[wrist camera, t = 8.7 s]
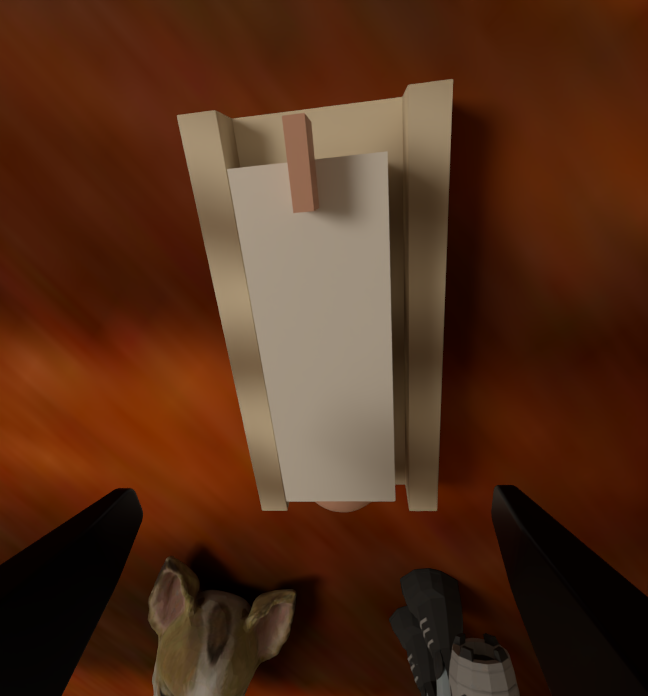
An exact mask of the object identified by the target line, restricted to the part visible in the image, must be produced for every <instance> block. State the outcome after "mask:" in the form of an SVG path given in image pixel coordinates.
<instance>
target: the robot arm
mask: <svg viewBox="0 0 648 696" xmlns="http://www.w3.org/2000/svg"><path fill="white" fill-rule="evenodd" d="M491 513H492V521H493V525H494V528H495V532H496V536H497V539H498V543H499V547H500V550H501V554H502V558H503V561H504V565H505V569H506V572H507V576H508V580H509V583H510V587H511V590H512V593H513V596H514V598H515V601H516V604H517V607H518V609H519V612H520V614H521V617H522V619H523V622H524V625H525V627H526V630H527V632H528V635H529V638H530V640H531V643H532V645H533V648H534V651H535V653H536V656H537V658H538V661H539V663H540V666H541V669H542V671H543V674H544V676H545V679H546V682H547V684H548V687H549V689H550V692H551V695H552V696H648V597H647V596H646V595H645V594H643V593H642V592H641V591H640V590H639V589H637V588H636V587H635V586H634V585H633V584H632V583H630V582H629V581H628V580H627V579H626V578H624V577H623V576H622V575H621V574H620V573H618V572H617V571H616V570H615V569H614V568H612V567H611V566H610V565H609V564H608V563H606V562H605V561H604V560H603V559H602V558H601V557H599V556H598V555H597V554H596V553H595V552H593V551H592V550H591V549H590V548H589V547H587V546H586V545H585V544H584V543H583V542H581V541H580V540H579V539H578V538H577V537H576V536H574V535H573V534H572V533H571V532H570V531H568V530H567V529H566V528H565V527H564V526H562V525H561V524H560V523H559V522H558V521H556V520H555V519H554V518H553V517H552V516H550V515H549V514H548V513H547V512H546V511H545V510H543V509H542V508H541V507H540V506H539V505H537V504H536V503H535V502H534V501H533V500H531V499H530V498H529V497H528V496H527V495H525V494H524V493H523V492H522V491H521V490H519V489H518V488H517V487H516V486H514V485H497V486H495V488H494V493H493V502H492V511H491ZM142 518H143V511H142V508H141V505H140V503H139V500H138V497H137V495H136V492H135V491H134V490H133V489H131V488H118V489H115V490H113V491H112V492H110V493H109V494H107V495H106V496H104V497H103V498H101V499H100V500H98V501H97V502H95V503H94V504H92V505H90V506H89V507H87V508H86V509H84V510H83V511H81V512H80V513H78V514H77V515H75V516H74V517H72V518H71V519H69V520H68V521H66V522H65V523H63V524H62V525H60V526H59V527H57V528H56V529H54V530H53V531H51V532H50V533H48V534H46V535H45V536H43V537H42V538H40V539H39V540H37V541H36V542H34V543H33V544H31V545H30V546H28V547H27V548H25V549H24V550H22V551H21V552H19V553H18V554H16V555H15V556H13V557H12V558H10V559H9V560H7V561H6V562H4V563H2V564H1V565H0V696H62V694H63V692H64V690H65V688H66V686H67V684H68V682H69V680H70V678H71V676H72V674H73V672H74V670H75V668H76V666H77V664H78V662H79V660H80V658H81V656H82V654H83V652H84V650H85V648H86V646H87V644H88V642H89V640H90V638H91V636H92V633H93V631H94V629H95V627H96V625H97V623H98V621H99V619H100V617H101V615H102V613H103V611H104V609H105V607H106V605H107V603H108V601H109V599H110V597H111V595H112V593H113V591H114V589H115V587H116V585H117V583H118V580H119V578H120V576H121V573H122V571H123V568H124V566H125V563H126V561H127V558H128V555H129V553H130V550H131V548H132V545H133V543H134V540H135V537H136V535H137V532H138V530H139V527H140V525H141V522H142Z"/></svg>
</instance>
